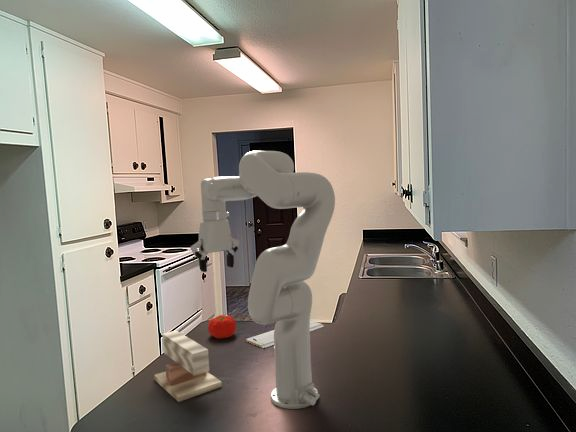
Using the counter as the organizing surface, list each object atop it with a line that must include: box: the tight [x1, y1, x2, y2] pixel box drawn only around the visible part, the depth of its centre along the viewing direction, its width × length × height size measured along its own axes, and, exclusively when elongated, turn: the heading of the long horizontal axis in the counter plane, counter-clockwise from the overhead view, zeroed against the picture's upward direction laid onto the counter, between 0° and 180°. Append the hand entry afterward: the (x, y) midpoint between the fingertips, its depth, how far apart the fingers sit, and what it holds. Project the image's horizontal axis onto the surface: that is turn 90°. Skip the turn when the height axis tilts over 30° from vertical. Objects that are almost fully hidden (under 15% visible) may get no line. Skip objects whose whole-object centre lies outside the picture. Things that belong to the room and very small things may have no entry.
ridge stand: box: [153, 361, 223, 403], centre depth 124 cm, size 18×13×6 cm
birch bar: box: [161, 329, 210, 376], centre depth 124 cm, size 22×4×6 cm, turn 37°
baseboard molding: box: [245, 320, 326, 349], centre depth 162 cm, size 31×3×12 cm
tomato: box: [207, 314, 237, 340], centre depth 163 cm, size 11×11×8 cm
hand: (217, 269), depth 138 cm, fingers open, 9 cm apart
